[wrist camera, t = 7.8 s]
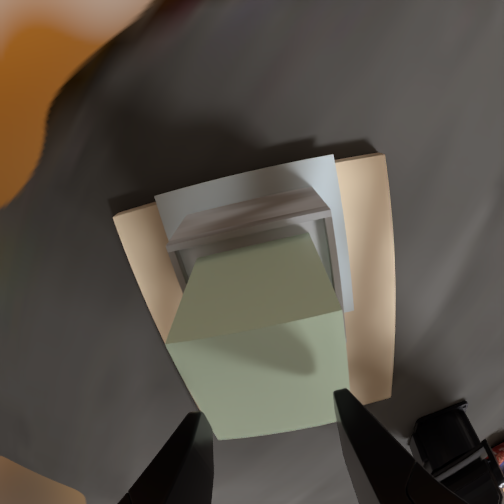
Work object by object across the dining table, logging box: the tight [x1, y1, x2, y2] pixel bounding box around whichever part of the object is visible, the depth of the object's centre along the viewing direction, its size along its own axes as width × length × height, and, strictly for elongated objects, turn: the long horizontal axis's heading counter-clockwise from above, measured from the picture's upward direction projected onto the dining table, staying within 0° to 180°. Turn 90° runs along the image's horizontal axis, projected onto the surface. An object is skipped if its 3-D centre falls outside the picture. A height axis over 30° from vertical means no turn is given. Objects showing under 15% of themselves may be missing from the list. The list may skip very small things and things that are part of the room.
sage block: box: [165, 232, 350, 440], centre depth 12 cm, size 5×5×6 cm
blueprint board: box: [113, 153, 395, 411], centre depth 19 cm, size 16×20×6 cm
